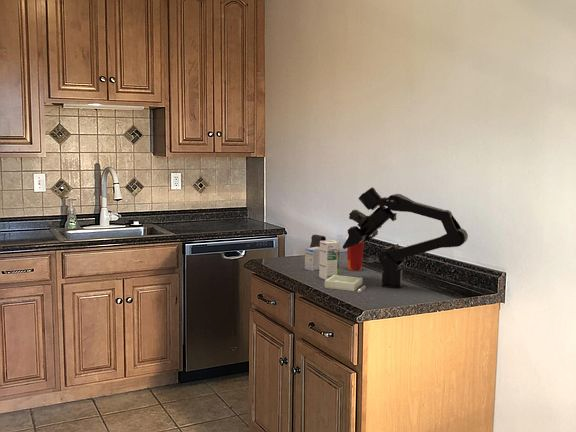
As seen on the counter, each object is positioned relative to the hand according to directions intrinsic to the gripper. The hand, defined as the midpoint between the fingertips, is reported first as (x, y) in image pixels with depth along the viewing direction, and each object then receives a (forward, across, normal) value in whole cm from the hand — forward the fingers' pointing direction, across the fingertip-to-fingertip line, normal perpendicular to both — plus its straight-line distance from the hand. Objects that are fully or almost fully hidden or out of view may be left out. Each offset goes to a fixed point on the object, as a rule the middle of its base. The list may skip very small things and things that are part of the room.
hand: (347, 246), depth 243 cm
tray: (+7, +10, +11) cm, 17 cm away
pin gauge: (+1, +12, +17) cm, 21 cm away
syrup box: (+14, 0, +4) cm, 15 cm away
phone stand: (+26, -26, -7) cm, 37 cm away
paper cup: (+13, -21, +6) cm, 26 cm away
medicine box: (+23, -13, -4) cm, 27 cm away
